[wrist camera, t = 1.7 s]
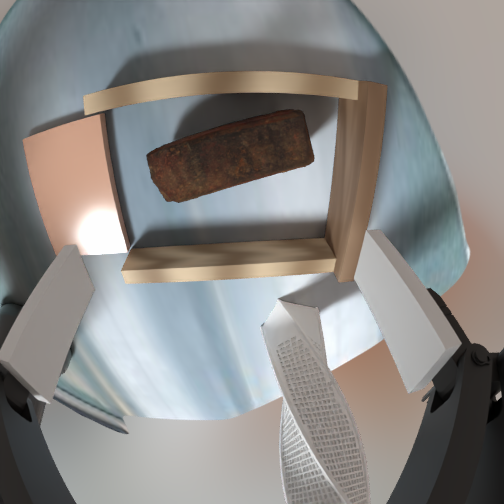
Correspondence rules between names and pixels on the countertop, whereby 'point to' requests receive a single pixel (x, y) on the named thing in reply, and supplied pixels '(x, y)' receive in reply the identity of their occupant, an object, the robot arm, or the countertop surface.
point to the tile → (77, 187)
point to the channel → (342, 189)
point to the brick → (231, 155)
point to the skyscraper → (313, 414)
